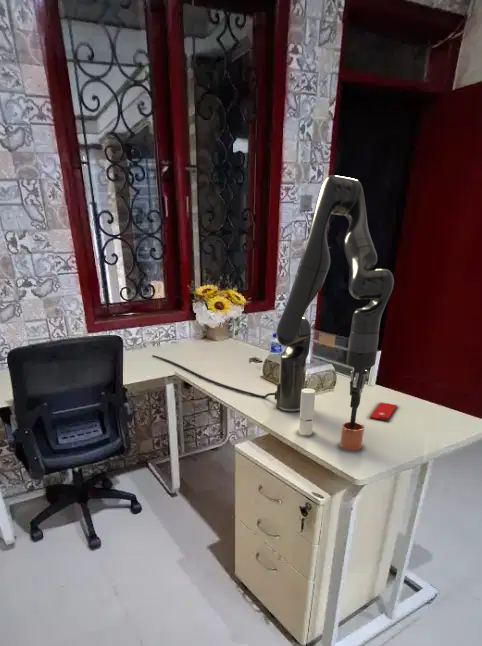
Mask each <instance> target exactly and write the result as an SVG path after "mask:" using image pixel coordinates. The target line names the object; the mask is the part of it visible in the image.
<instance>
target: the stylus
mask: <svg viewBox="0 0 482 646" xmlns="http://www.w3.org/2000/svg"><path fill="white" fill-rule="evenodd" d="M354 392H355V391H354ZM357 412H358V408H351V414H350V420H349V422H350V427H351V428H354V427H355V422H356V419H357V414H358V413H357Z"/></svg>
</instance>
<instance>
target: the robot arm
mask: <svg viewBox="0 0 482 646" xmlns="http://www.w3.org/2000/svg"><path fill="white" fill-rule="evenodd" d="M364 193H365V192H364V188H363V186H362V183H361V181H360V180H358V179H355V178H351V177H346V176H340V175H334V174H330V175H328V176H327V177H326V178H325V179H324V180H323V182H322V184H321V186H320V189H319V191H318V194H317V198H316V202H315V206H314V211H313V215H312V220H311V224H310V228H309V232H308V235H307V240H306V242H305V245H304V249H303V252H302V255H301V258H300V261H299V264H298V267H297V270H296V273H295V277H294V281H293V284H292V287H291V289H290V293H289V296H288V299H287V303H286V305H285V307H284V309H283V312H282V314H281V317H280V319H279V321H278V324H277V327H276V330H275V331H276V332H275V334H276V335H275V336H276V339H277V342H278V344H279V345H280V346H282V347H285V350H284V351H283V352H282V353H281V354H280V356H279V374H278V383H277V384H276V387H277V388H276V391H274V392H269V393H265V395H260V394H257V393H254V392H250V391H246V390H243V389H239V388H236V387H233V386H231V385H230V386H229V385H227V384H223V383H220V382H218V381H216V380H213V379H210V378H208V377H205V376H203V375H202V374H200V373H197V372H195V371H193V370H191V369H189V368H187V367H185V366H183V365H181V364H178V363H176V362H174V361H172V360H169V359H168V358H164V357H161V356H158V355H154V354H152V355H151V357H153V358H155V359H158V360H163V361H164V362H168V363H170V364H173V365H175V366H176V367H179V368H181V369H183V370H185V371H187V372H188V373H191V374H193V375H195V376H196V377H199V378H201V379H203V380H205V381H208V382H211V383H213V384H215V385H218V386H221V387H224V388H226V389H228V390H229V389H230V390H233V391H236V392H239V393H243V394H246V395H249V396H253V397H257V398H261V399H266V398H268V397H269V396H274V400H275V401H276V409H279V410H281V411H283V412H289V413H290V412H293V413H294V412H298V411H299V412H300V405H301V390H302V389H305V383H306V381H305V380H306V367H307V359H308V356H309V353H310V345H311V337H312V327H311V324H310V322H309V320H308V319H307V318H306V317H304V316H305V313H306V311H307V309H308V307H309V306H310V305H311V303H312V302H313V300H314V299H315V298H316V297H317V295H318V294H319V292H320V291H321V290H322V287H323V285H324V284H325V281H326V278H327V275H328V273H329V270H330V266H331V253H330V249H329V244H328V237H327V235H328V233H327V230H328V225H329V221H330V217H331V215H337V216H344V217H346V219H347V221H348V223H349V226H348V228H347V230H346V233H345V236H344V240H343V249H344V254H345V257H346V259H347V260H346V261H347V263H348V270H349V279H348V291H349V293H350V295H351V296H352V297H353V298H354V299H355V300H369V299H370V301H368V303H367V305H365V306H362V307H359V308H356V309H355V310H354V311H353V312H352V313H353V314H352V318H351V319H352V320H351V327H350V334H349V337H348V344H347V354H346V365H347V366H349V367H352V371H350V377H349V378H350V381H349V396H350V398H351V399H350V405H349V407H350V409H352V408H357V409H358V408H359V406H360V404H361V397H362V393H363V389H364V388H365V385H366V379H367V377H368V371H369V370H368V369H369V368H372V367H374V366H375V365H376V360H377V354H378V347H379V336H380V327H381V321H382V320H381V319H382V315H383V313H384V311H385V307H386V305H387V304H388V301H389V299H390V297H391V295H392V291H393V290H394V284H395V279H394V275H393V273H392V272H391V270H389V269H387V268H376V269H373V268H374V267H375V266H376V264H377V263H378V254H377V250H376V248H375V244H374V242H373V239H372V237H371V234H370V229H369V225H368V216H367V207H366V200H365V199H366V198H365V194H364ZM354 391H355V392H354Z"/></svg>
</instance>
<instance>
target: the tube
mask: <svg viewBox="0 0 482 646" xmlns="http://www.w3.org/2000/svg"><path fill="white" fill-rule="evenodd" d="M315 401H316V389H314V388H310V387H309V388H307V387H306V388H305V387H304V389H302V390H301V405H300V410H299V420H298V421H299V422H298V423H299V424H298V434H299V435H302V436H310V435H312V434H313V427H314V415H315V414H314V413H315Z"/></svg>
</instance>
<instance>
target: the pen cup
mask: <svg viewBox="0 0 482 646" xmlns="http://www.w3.org/2000/svg"><path fill="white" fill-rule="evenodd" d="M364 433H365V426H364V424H362V423H360V422H356V421H355V427H354V428H351V427H350V421H346V422H344V423H342V425H341V431H340V440H339V441H340V442H339V446H340V447H341V448H342V449H344V450H347V451H359V450H361V449H362V447H363V442H364V441H363V440H364Z"/></svg>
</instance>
